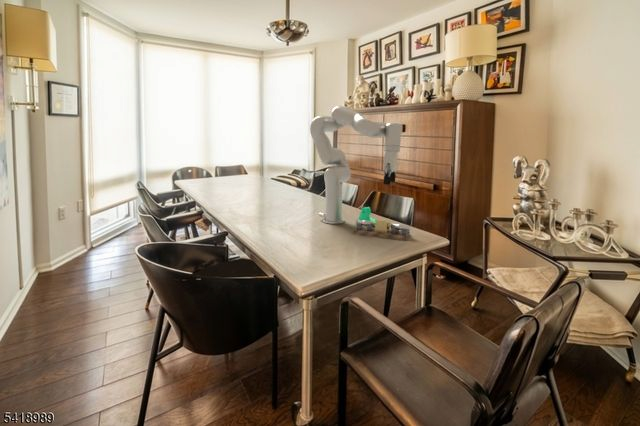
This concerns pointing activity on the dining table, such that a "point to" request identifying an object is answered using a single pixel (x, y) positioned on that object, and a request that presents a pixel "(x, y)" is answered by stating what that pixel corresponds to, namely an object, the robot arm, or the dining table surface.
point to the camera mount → (366, 214)
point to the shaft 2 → (397, 227)
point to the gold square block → (382, 225)
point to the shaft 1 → (364, 224)
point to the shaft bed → (379, 234)
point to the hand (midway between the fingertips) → (389, 183)
